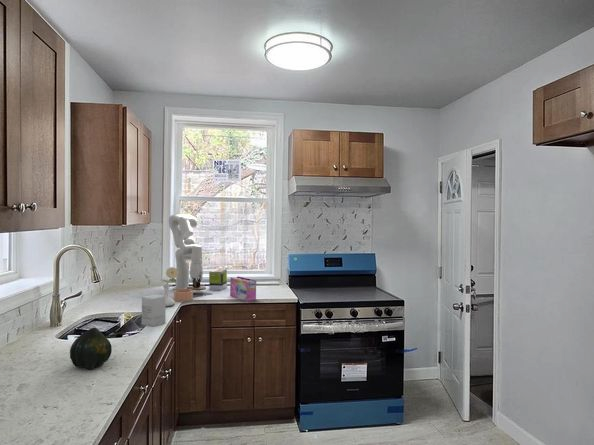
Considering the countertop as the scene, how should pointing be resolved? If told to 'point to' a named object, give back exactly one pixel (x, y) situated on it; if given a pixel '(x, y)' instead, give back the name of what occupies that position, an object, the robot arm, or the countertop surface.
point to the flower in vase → (171, 274)
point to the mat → (200, 293)
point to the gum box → (243, 288)
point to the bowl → (183, 295)
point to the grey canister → (153, 310)
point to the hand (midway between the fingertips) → (196, 286)
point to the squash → (90, 349)
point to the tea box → (217, 279)
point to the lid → (195, 287)
